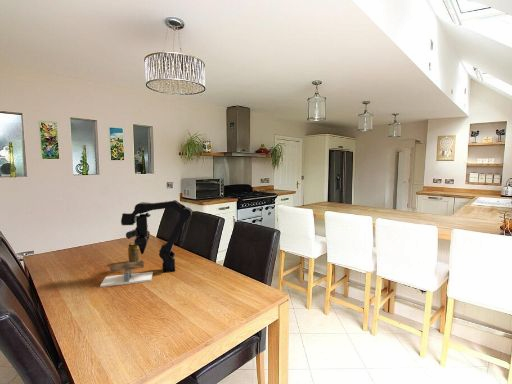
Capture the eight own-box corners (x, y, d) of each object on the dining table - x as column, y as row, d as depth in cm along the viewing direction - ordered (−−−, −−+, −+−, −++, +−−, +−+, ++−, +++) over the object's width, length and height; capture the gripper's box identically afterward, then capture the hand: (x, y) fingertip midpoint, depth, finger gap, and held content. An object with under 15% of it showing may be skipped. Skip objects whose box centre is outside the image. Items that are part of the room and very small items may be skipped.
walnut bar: (143, 265, 152) (143, 260, 151) (143, 267, 149) (143, 262, 149) (111, 270, 146) (110, 264, 145) (110, 272, 143) (110, 266, 143)
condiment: (138, 259, 180) (137, 241, 179) (142, 263, 173) (141, 244, 172) (126, 262, 175) (125, 243, 174) (129, 265, 169) (128, 246, 168)
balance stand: (152, 273, 156) (152, 263, 156) (151, 281, 146) (150, 270, 145) (106, 278, 150) (105, 267, 149) (100, 286, 139) (99, 275, 139)
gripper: (129, 222, 163) (130, 248, 165) (123, 229, 145) (125, 258, 147) (149, 221, 166) (150, 246, 168) (145, 227, 148) (147, 256, 150)
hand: (143, 251), depth 158 cm, fingers open, 9 cm apart
